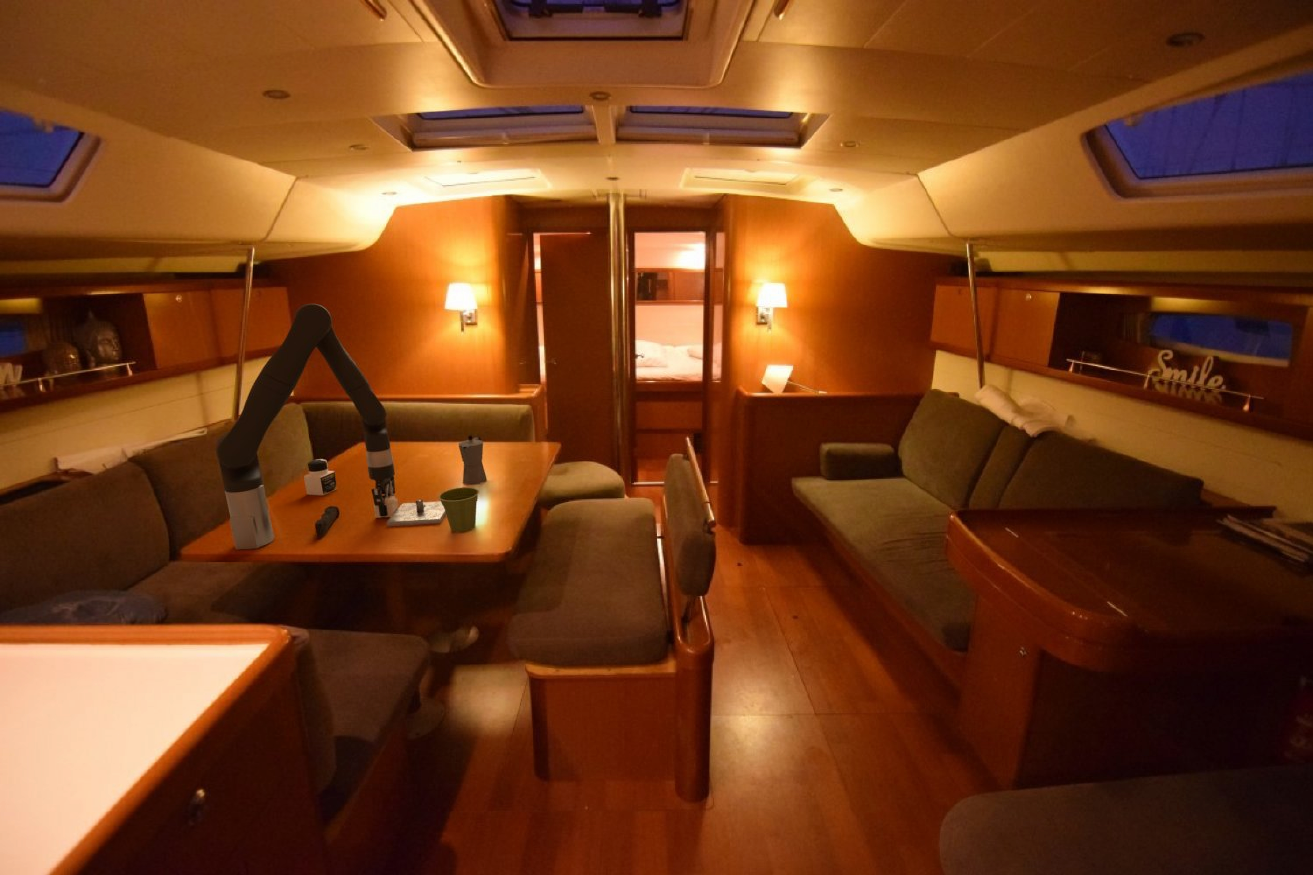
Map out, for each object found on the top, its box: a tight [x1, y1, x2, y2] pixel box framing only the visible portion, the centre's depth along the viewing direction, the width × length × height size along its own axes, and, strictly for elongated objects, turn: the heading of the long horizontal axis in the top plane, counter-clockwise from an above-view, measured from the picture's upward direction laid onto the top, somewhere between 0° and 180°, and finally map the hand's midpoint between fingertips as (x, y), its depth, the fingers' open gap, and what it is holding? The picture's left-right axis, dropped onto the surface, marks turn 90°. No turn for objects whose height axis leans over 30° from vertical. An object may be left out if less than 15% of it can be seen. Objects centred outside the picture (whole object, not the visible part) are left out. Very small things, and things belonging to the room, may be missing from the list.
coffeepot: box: [458, 434, 487, 486], centre depth 224 cm, size 15×9×18 cm, turn 174°
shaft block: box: [386, 499, 446, 527], centre depth 192 cm, size 16×16×5 cm
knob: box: [373, 496, 400, 518], centre depth 192 cm, size 6×6×5 cm
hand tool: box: [314, 505, 341, 540], centre depth 183 cm, size 19×4×5 cm, turn 14°
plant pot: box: [438, 486, 480, 533], centre depth 180 cm, size 12×12×11 cm
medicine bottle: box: [303, 458, 338, 496], centre depth 215 cm, size 7×7×12 cm
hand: (387, 512), depth 193 cm, fingers closed on knob, 5 cm apart
